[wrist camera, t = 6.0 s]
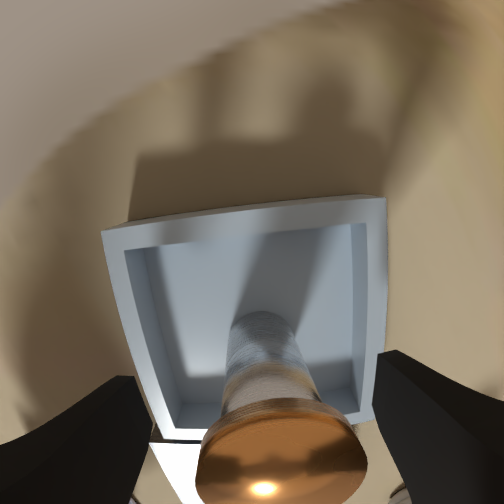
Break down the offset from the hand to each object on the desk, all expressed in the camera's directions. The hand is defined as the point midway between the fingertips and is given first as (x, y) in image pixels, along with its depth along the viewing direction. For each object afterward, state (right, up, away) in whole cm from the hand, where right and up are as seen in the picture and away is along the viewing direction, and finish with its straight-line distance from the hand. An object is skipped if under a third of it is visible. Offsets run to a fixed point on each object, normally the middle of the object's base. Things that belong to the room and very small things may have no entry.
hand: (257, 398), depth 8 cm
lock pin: (0, 0, +5) cm, 5 cm away
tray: (0, +1, +5) cm, 5 cm away
